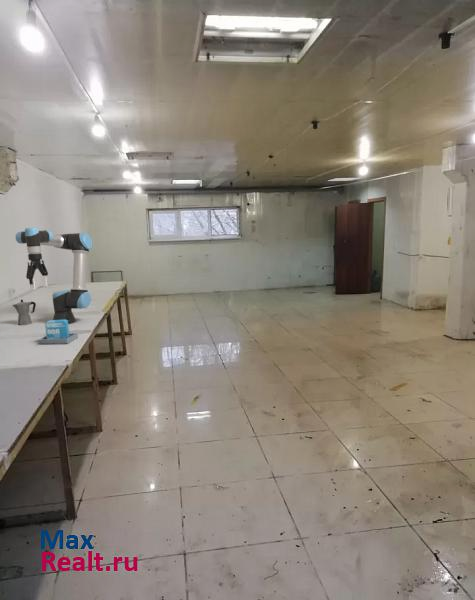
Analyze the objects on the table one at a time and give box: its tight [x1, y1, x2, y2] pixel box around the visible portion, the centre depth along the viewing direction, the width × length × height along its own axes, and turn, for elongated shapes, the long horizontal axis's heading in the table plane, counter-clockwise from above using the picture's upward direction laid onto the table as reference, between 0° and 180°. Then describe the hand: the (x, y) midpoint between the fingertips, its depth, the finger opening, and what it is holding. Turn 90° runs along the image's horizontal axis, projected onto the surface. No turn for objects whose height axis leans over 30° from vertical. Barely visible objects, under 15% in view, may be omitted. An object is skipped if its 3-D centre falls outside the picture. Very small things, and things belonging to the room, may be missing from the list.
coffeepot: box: [11, 299, 37, 326], centre depth 308 cm, size 15×9×18 cm, turn 121°
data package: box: [44, 319, 70, 339], centre depth 255 cm, size 12×4×12 cm, turn 98°
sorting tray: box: [37, 332, 79, 346], centre depth 256 cm, size 14×18×3 cm
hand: (39, 287), depth 262 cm, fingers open, 13 cm apart
